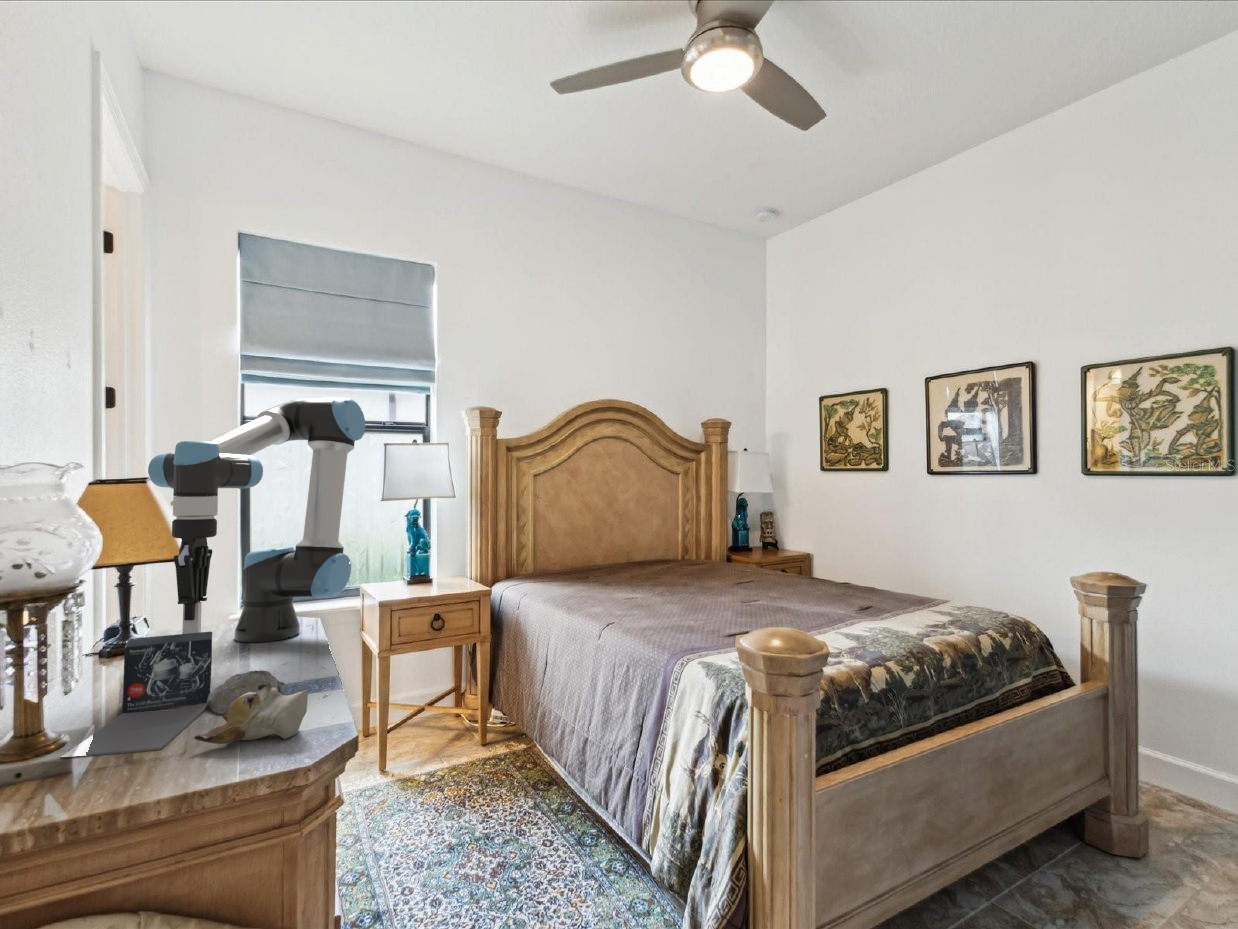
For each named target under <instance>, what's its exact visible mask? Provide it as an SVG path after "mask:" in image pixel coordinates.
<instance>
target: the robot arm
mask: <svg viewBox="0 0 1238 929" xmlns="http://www.w3.org/2000/svg"><path fill="white" fill-rule="evenodd" d="M365 432H366V419H365V415H364V411H363V410H362V407H361V406H360V404H358V402H356V401H355V400H354V399H352V398H347V397H338V396H336V397H321V398H319V397H314V398H312V397H311V398H309V397H308V398H306V397H303V398H297V399H293V400H292V399H291V400H289V401H286V402H283V403H281V404H277V405H275V406H273V407H271V408H268V409H266V410H263V411H261V412H260V413H259V414H258V415H257V417H256V418H255V419H253V420H251V421H247V422H246V423H244V424H242V425H239V426H237V427H235V428H233V429H231V430H227V431H226V432H224V433H222V434H220V435H216V436H215V437H212V438H209V439H207V440H205V441H202V440H201V441H199V440H198V441H197V440H185V441H184V440H183V441H179V442H178V443H177V444H175V446H174V447H175V448H174V453H171V452H169V453H168V452H167V453H163V454H157V455H156V456H154V457H152V459H151V460H150V461H149V464H148V468H147V474H148V477H149V479H150V481H151V482H152V483H153V484H154V485H155V486H157V487H159V488H167V489H168V488H170V489H171V490H172V489H173V498H172V499H173V500H171V501H170V506H172V516H173V517H175V519H173V520H172V521H171V523H172V524H171V536H172V537H173V539H181V543H180V547H179V550H178V552H179V553H178V554H177V555H176V554H175V555H174V556H173V563H174V567H175V575H176V577H175V578H176V588H177V605H182V606H183V607H182V632H181V633H182V634H189V633H200V632H202V631H201V630H202V606H203V605H202V602H206V601H207V600H208V597H206V596H207V593H208V583H209V574H210V567H211V559H212V555H213V549H210V548H209V545H208V539H207V538H214V537H215V536H217V533H218V532H217V531H218V520H217V518H215V516H216V517H217V515H219V514H218V512H219V510H218V508H219V506H218V504H219V497H218V496H219V493H218V492H219V489H239V490H240V489H241V490H244V489H250V488H253V487H255V486H257V485H258V484H259V483H260V482H261V481H262V478H263V476H264V467H263V464H262V462H261V461H260V460H259V459H258V458H257V457H256V456H253V455H254V454H256V453H257V452H260V451H261V450H264V449H266V448H267V447H270V446H271V445H272V446H275V445H276V446H278V445H282V444H284V443H286V442H287V443H288V442H289V441H307V445H308V446H309V447H310V449H311V450H312V457H311V458H312V459H311V467H310V473H309V474H310V475H309V483H308V484H309V485H308V492H307V501H306V502H307V503H306V509H305V517H304V518H305V519H304V526H303V527H304V528H303V536H302V540H300V541H299V542H298V543H297V544H295V548H294V546H286V547H278V548H277V547H276V548H269V549H262V550H257V551H256V550H255V551H250V552H248V553H247V554H246V555H245V557H244V564H243V593H242V594H243V596H242V598H243V599H242V600H243V601H242V602H243V605H242V607H243V608H242V611H241V613H240V617H239V619H238V621H237V624H236V627H235V629H234V641H237V642H239V643H240V642H241V643H265V642H273V641H274V640H275V641H280V640H285V638H286V639H289V638H288V637H290V638H293V637H296V636H297V635H296V634H298V633H299V632H300V631H301V629H300V628H301V626H300V621H299V619H298V616H297V613H296V609H295V606H294V598H303V599H304V598H308V599H317V600H318V599H319V600H320V599H331V598H335V597H337V596H338V595H340V594H341V593H342V592H343V591H344V589H345V588H346V586H347V585H348V583H349V580H350V577H351V574H352V562H351V559H350V557H349V556H348V555H347V554H345V553H344V546H343V544H341V542H340V541H339V537H340V527H341V518H342V511H343V510H342V509H343V499H344V491H345V490H344V488H345V480H346V471H347V460H348V454H349V453H350V452H352V451H353V450H354V449H355V442H356V441H359V440H361V439H362V438H363V436H364V435H365ZM300 633H301V632H300ZM300 633H299V634H300ZM299 634H298V635H299ZM295 635H296V636H295Z"/></svg>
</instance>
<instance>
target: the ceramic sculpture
mask: <svg viewBox="0 0 1238 929" xmlns="http://www.w3.org/2000/svg"><path fill="white" fill-rule="evenodd" d="M308 697H309V691H308V690H307V689H305V690H303V691H298V692H296V693H294V694H290V695H289V694H288V695H285V694H283V695H281V694H280V693H279V692H278V690H277V689H276V688H274V687H272V686H270V685H264V684H261V685H259V687H258V689H257V691H256V692H248V693H246V694H244V695H242V696H240V697H239V698H237V699H236V700H235V701H234V702H233V703H232V705H231V706H230V708H229V711H228V715H221V718H222V719H224V720H225V721H226V722H225V723H224V724H222V725H217V726H216V727H213V728H211V729H210V730H208V731H207V732H206V733H202V734H198V735H195V736H193V739H194V740H196V741H199V742H204V743H208V744H217V745H225V744H230V743H233V742H236V741H239V740H241V741H253V740H259V739H263V738H265V737H268V736H270V735H278V736H280V737H281V738H282V739H288V738H291V737H294V736H295V735H297V733H298V731H299V729H300V727H301V725H302V722H303V720H304V717H305V715H306V713H307V711H308V710H307V709H308V703H309V702H308V700H309V699H308Z"/></svg>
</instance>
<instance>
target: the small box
mask: <svg viewBox="0 0 1238 929" xmlns="http://www.w3.org/2000/svg"><path fill="white" fill-rule="evenodd" d="M212 654H213V631H201V632H200V633H189V634H181V633H180V634H179V633H178V634H168V635H156V636H147V637H135V638H134V637H133V638H129V639H128V641H127V642H126V644H125V645H124V655H123V656H124V658H123V684H122V688H123V689H122V706H121V707H122V708H121V714H122V713H133V712H146V711H158V710H162V709H163V710H165V709H171V708H178V707H184V706H189V705H197V704H204V703H207V699H208V695H209V694H210V693H211V687H212V686H211V683H212V682H211V681H212V665H213V664H212V662H213V660H212V659H213V656H212Z"/></svg>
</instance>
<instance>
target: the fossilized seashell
mask: <svg viewBox="0 0 1238 929" xmlns="http://www.w3.org/2000/svg"><path fill="white" fill-rule="evenodd" d="M261 684H264V685H270V686H272V687H274V688H276V689H277V690H278V692H279V693H280V694H281V695H285V693H286V689H287V684H286V683H285V682H284V681H279V680H278V679H277V677H276V676H274V675H273V674H272V673H270V671H267V670H262V669H260V670H256V669H255V670H250V671H248V672H242V673H236V674H235V675H232V676H230V678H228V679H226V680H225V681H224V683H223V684H221V685H219V686H217V687H215V688H214V689H213V690H212V691H210V694H209V695H208V699H207V702H206V706H205V707H207V708H210V709H211V710H212V711H213V713H214V714H217V715H220V716H223V715H228V711H229V708H230V706H231V705H232V703H233V702H234V701H235V700H236V699H237V698H239V697H240V696H242V695H244V694H246V693H248V692H256V691H257V689H258V687H259V685H261Z"/></svg>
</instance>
